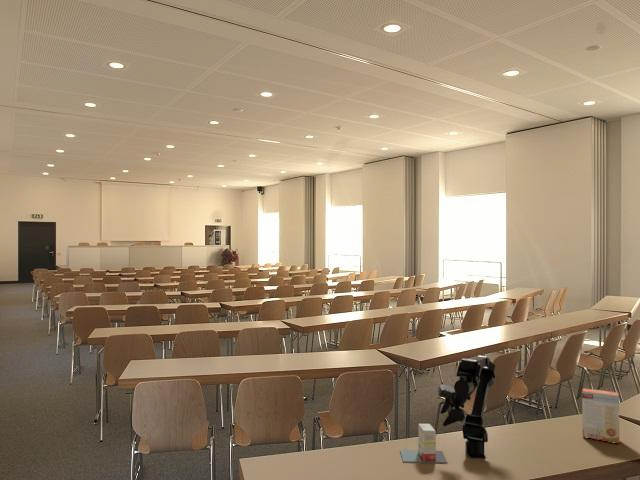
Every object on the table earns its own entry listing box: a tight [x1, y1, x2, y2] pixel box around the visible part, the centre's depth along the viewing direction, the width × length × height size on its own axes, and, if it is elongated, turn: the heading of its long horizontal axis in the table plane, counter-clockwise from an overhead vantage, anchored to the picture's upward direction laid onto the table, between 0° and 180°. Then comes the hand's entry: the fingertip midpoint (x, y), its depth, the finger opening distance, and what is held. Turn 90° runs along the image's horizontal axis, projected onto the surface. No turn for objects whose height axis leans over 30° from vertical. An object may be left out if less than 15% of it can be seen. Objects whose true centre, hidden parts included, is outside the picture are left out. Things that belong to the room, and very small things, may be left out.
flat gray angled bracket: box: [399, 449, 448, 464], centre depth 199 cm, size 17×11×1 cm, turn 87°
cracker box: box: [581, 388, 620, 444], centre depth 218 cm, size 14×6×21 cm, turn 58°
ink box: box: [417, 423, 437, 461], centre depth 199 cm, size 9×5×12 cm, turn 5°
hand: (442, 419), depth 199 cm, fingers open, 9 cm apart
